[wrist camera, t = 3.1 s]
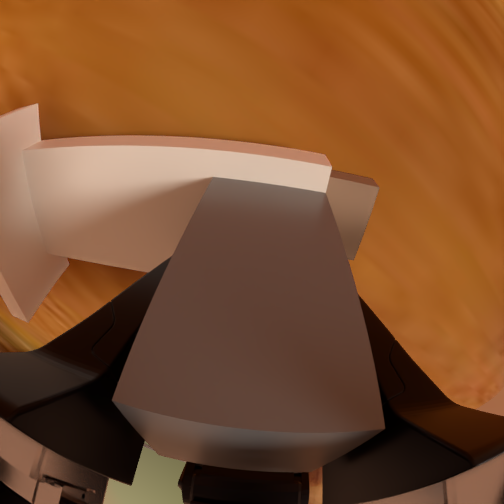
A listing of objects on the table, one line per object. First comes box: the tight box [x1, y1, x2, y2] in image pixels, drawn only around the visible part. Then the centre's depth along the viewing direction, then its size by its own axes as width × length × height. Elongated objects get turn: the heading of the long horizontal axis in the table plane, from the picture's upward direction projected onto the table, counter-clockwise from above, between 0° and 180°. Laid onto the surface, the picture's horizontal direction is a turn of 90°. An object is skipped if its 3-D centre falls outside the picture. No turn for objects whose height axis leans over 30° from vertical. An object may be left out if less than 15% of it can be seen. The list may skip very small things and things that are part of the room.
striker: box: [0, 103, 385, 472], centre depth 8 cm, size 10×15×10 cm, turn 84°
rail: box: [326, 170, 379, 260], centre depth 13 cm, size 4×16×1 cm, turn 84°
